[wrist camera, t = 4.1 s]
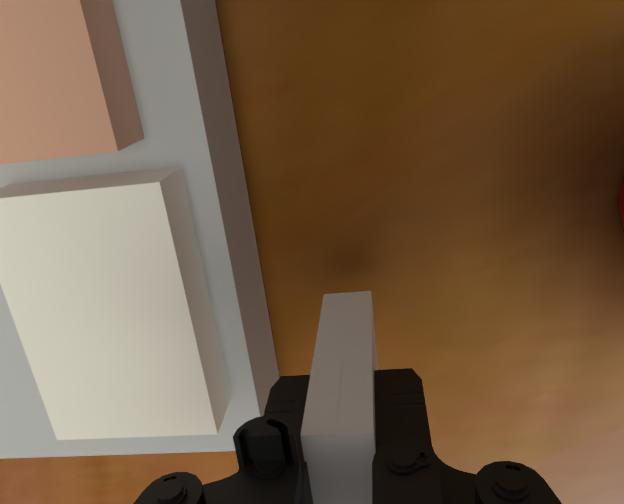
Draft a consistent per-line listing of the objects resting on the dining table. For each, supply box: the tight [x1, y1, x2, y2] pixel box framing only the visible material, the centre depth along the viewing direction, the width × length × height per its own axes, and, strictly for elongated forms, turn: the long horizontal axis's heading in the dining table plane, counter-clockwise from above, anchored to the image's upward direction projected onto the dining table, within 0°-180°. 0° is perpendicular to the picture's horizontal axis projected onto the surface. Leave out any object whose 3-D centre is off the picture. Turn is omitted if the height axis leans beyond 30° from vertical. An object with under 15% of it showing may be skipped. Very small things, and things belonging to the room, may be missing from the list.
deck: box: [0, 0, 280, 458], centre depth 20 cm, size 22×14×4 cm, turn 7°
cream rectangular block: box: [0, 166, 231, 440], centre depth 19 cm, size 9×6×2 cm, turn 7°
